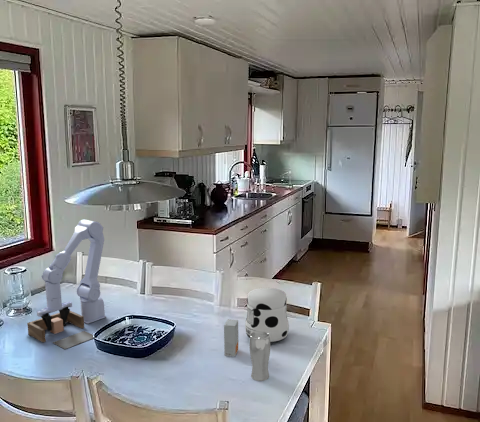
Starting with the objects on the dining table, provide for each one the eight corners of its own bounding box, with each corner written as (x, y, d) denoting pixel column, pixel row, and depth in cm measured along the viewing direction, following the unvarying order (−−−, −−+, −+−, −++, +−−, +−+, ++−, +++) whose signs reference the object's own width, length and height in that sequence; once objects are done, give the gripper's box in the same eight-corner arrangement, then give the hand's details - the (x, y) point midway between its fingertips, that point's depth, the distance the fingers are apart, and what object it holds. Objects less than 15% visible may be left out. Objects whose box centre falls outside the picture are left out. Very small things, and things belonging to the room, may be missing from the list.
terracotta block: (58, 328, 206) (57, 317, 205) (63, 330, 204) (62, 319, 203) (49, 331, 203) (48, 320, 202) (54, 334, 201) (53, 322, 200)
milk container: (294, 332, 199) (294, 290, 196) (279, 350, 183) (279, 304, 180) (255, 325, 206) (255, 284, 203) (238, 342, 191) (237, 298, 187)
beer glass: (248, 372, 167) (248, 330, 165) (269, 370, 168) (268, 329, 165) (251, 382, 161) (250, 339, 158) (271, 381, 161) (271, 338, 159)
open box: (69, 320, 214) (68, 309, 213) (101, 335, 198) (100, 323, 198) (28, 334, 200) (27, 322, 200) (59, 351, 185) (58, 339, 184)
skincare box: (235, 357, 178) (235, 326, 176) (224, 356, 179) (223, 325, 177) (238, 349, 184) (238, 319, 182) (227, 348, 185) (227, 318, 183)
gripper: (64, 290, 209) (67, 320, 211) (32, 299, 198) (35, 330, 200) (73, 293, 204) (76, 324, 207) (40, 303, 193) (43, 335, 196)
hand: (56, 327), depth 203 cm, fingers open, 6 cm apart
